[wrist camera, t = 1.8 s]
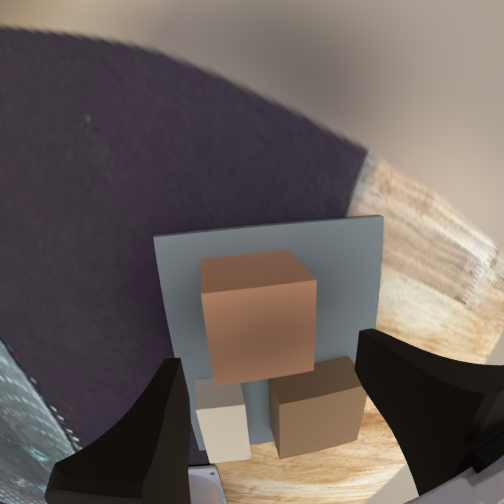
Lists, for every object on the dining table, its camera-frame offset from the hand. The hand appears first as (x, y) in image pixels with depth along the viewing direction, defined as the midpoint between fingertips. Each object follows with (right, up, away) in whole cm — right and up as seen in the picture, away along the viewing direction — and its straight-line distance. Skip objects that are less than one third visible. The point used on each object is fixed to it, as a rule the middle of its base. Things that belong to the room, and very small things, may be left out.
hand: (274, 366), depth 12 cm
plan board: (+1, -2, +9) cm, 10 cm away
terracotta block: (-1, +2, +7) cm, 7 cm away
